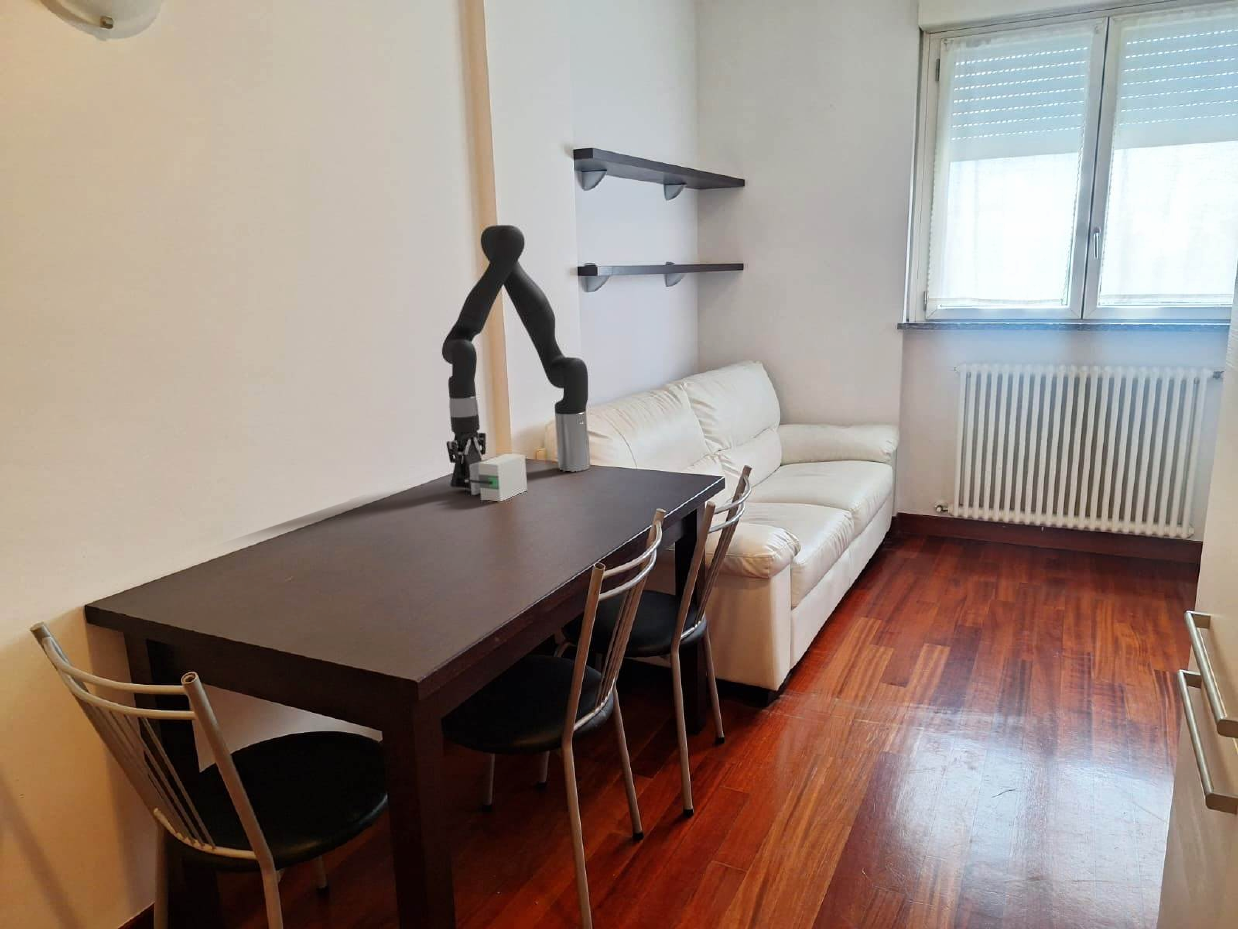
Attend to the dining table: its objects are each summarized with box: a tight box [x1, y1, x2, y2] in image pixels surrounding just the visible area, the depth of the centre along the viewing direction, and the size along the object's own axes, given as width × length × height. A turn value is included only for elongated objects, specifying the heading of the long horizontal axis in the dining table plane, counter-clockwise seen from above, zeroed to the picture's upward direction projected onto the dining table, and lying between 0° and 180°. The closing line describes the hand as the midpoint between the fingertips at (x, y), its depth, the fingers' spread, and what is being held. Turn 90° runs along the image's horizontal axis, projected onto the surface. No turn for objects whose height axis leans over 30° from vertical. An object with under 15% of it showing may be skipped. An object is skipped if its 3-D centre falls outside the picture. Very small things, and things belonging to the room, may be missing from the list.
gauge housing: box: [478, 453, 528, 502], centre depth 223 cm, size 12×6×10 cm, turn 151°
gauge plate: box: [465, 456, 496, 496], centre depth 224 cm, size 12×8×8 cm
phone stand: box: [450, 443, 483, 490], centre depth 229 cm, size 9×6×12 cm, turn 62°
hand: (469, 474), depth 229 cm, fingers closed on phone stand, 6 cm apart
